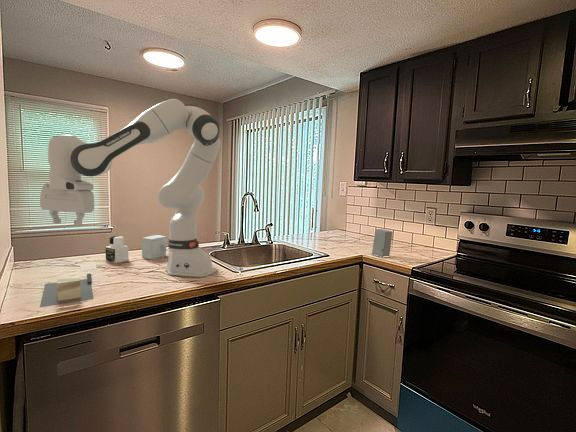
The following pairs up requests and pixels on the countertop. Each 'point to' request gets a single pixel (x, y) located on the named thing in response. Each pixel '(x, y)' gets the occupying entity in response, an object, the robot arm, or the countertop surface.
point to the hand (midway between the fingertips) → (67, 224)
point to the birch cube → (68, 288)
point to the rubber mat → (52, 299)
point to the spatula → (88, 266)
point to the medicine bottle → (117, 250)
